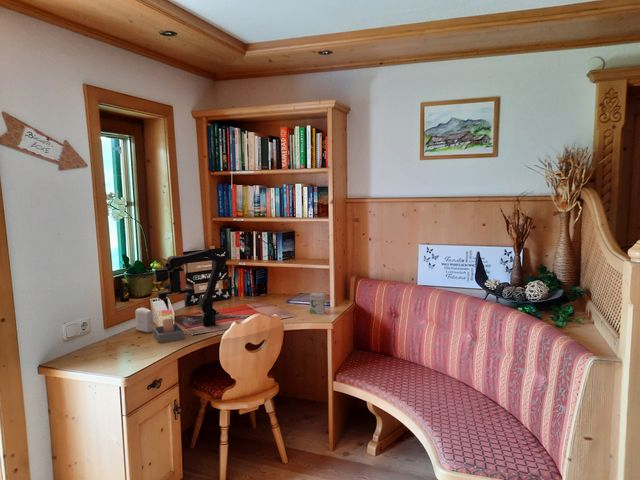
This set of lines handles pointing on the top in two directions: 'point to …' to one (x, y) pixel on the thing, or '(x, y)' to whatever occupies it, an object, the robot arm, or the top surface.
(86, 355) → the top surface
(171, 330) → the terracotta cylinder
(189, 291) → the robot arm
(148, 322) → the photo printer
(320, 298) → the ink box
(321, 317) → the top surface
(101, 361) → the top surface
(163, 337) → the bin
